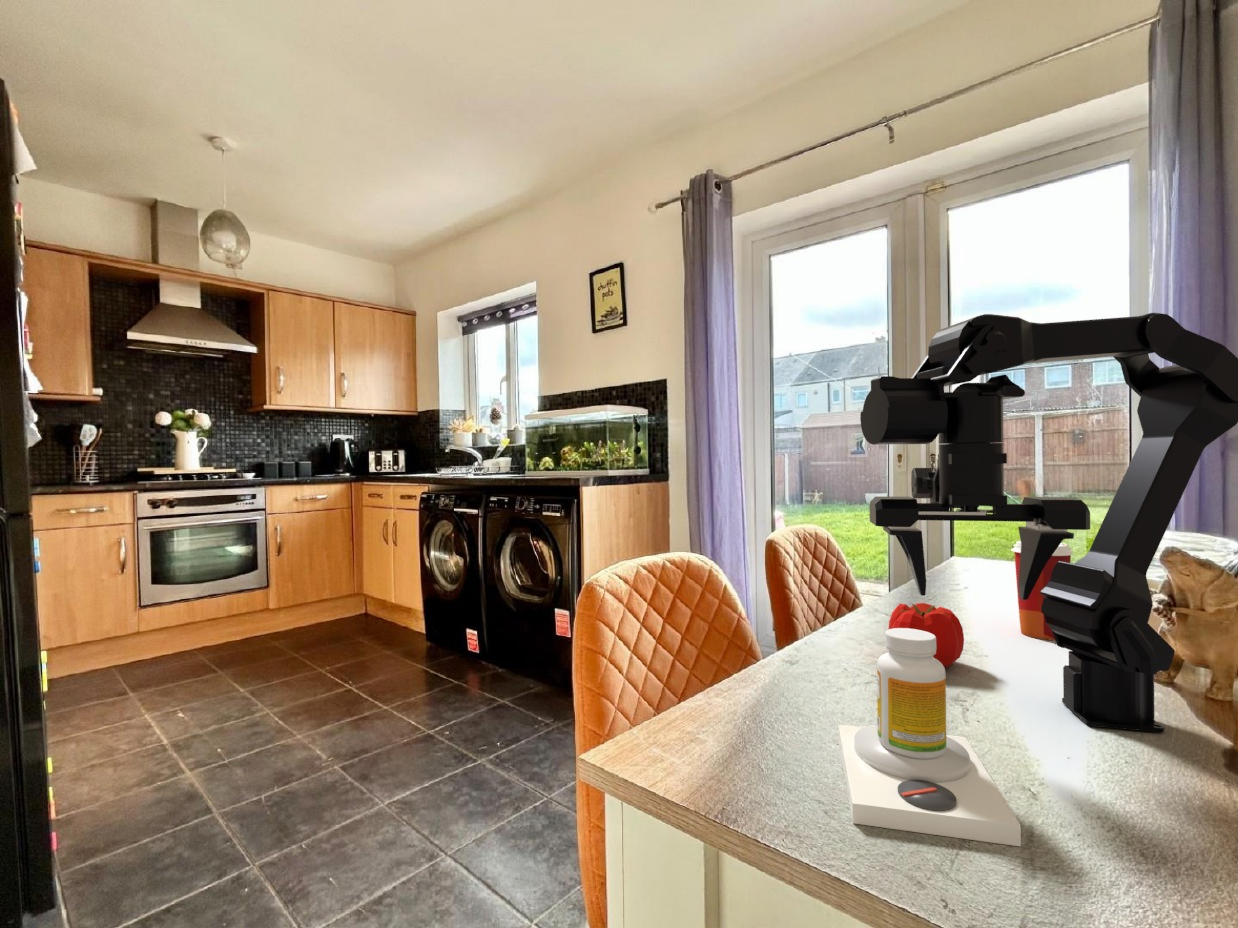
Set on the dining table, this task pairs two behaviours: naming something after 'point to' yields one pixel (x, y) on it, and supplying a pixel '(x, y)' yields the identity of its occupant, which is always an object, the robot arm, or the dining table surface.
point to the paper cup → (1038, 594)
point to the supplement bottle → (911, 695)
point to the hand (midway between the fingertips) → (971, 596)
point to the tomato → (932, 628)
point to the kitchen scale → (924, 790)
